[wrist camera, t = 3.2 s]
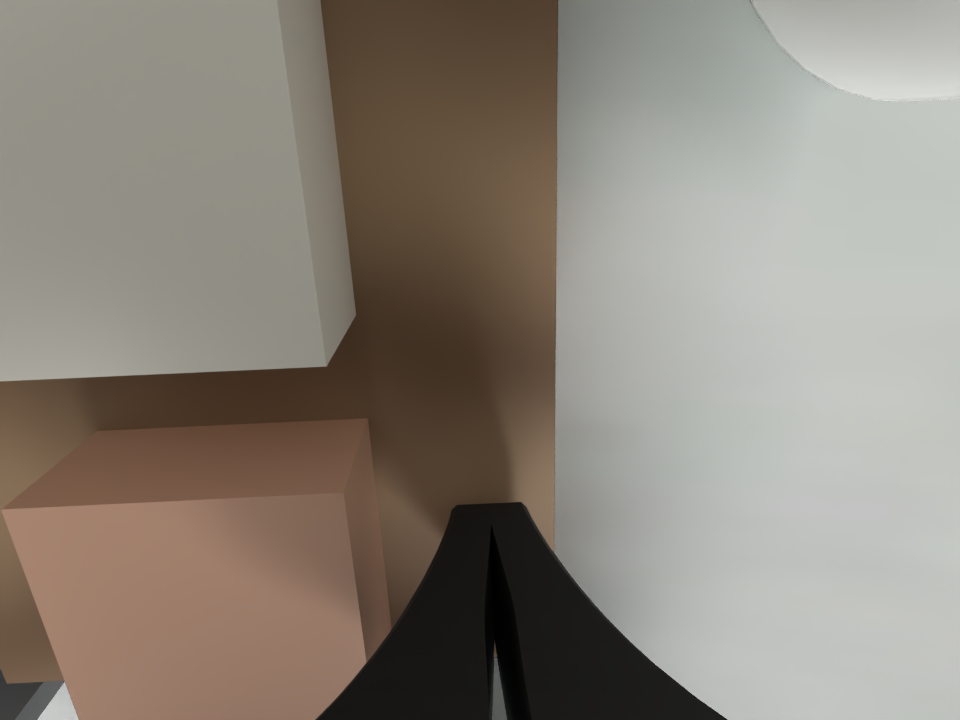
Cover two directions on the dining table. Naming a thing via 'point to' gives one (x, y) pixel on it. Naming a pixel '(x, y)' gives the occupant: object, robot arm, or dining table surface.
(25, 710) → the tray
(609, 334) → the dining table surface
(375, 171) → the board
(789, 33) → the pill bottle
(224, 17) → the tile cream
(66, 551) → the tile terracotta
